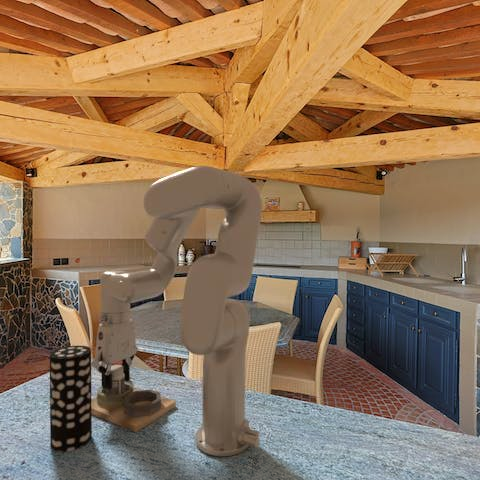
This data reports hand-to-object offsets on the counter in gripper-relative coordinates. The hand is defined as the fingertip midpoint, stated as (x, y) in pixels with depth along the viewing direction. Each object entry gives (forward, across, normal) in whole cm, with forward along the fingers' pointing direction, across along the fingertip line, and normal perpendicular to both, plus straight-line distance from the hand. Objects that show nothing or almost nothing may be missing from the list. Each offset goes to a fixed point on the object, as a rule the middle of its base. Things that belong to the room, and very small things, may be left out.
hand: (116, 383), depth 97 cm
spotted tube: (+6, -17, -5) cm, 18 cm away
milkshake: (+6, +13, -22) cm, 26 cm away
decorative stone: (+6, +11, +12) cm, 17 cm away
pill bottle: (+4, 0, 0) cm, 4 cm away
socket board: (+6, 0, -5) cm, 7 cm away
